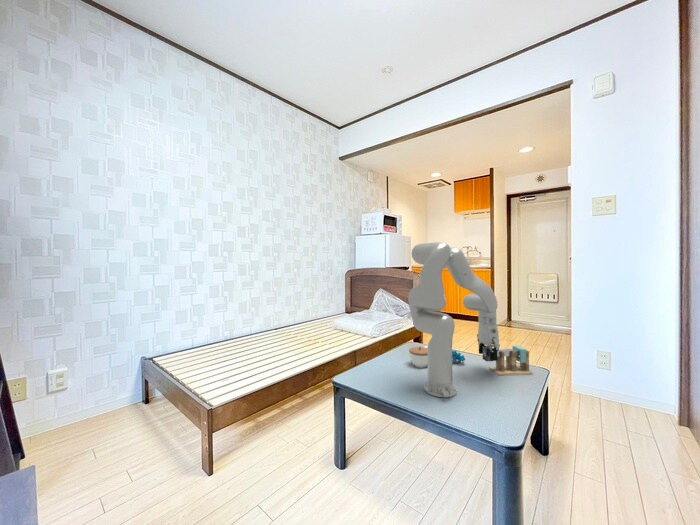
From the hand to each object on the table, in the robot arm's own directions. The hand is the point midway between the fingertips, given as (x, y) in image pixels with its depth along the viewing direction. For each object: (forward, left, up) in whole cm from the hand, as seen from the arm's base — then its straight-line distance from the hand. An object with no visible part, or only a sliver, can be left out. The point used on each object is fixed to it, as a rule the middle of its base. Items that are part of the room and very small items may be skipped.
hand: (487, 356), depth 133 cm
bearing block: (0, -11, -7) cm, 13 cm away
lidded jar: (+13, +28, -8) cm, 32 cm away
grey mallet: (0, -8, -1) cm, 9 cm away
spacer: (0, -15, +1) cm, 15 cm away
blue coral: (+15, +10, -8) cm, 19 cm away
